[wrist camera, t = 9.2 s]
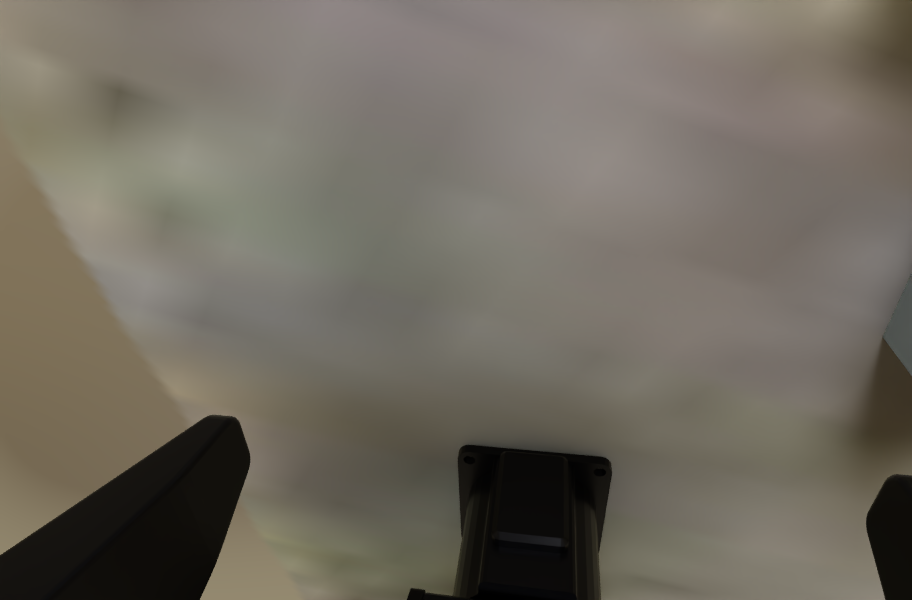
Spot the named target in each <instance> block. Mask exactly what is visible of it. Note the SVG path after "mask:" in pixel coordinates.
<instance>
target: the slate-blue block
mask: <svg viewBox="0 0 912 600" xmlns="http://www.w3.org/2000/svg"><path fill="white" fill-rule="evenodd" d="M883 338H884V339H885V341H886V342H887V343H888V345H889V346H890V347H891V349H892V350H893V352H894V353H895V354H896V356H897V357H898V358H899V360H900V361H901V362H902V364H903V365H904V366H905V368H906V369H907V370H908V372H909V373H910V374H911V376H912V273H911V276H910V278H909V280H908V282H907V284H906V287H905V289H904V291H903V293H902V295H901V298H900V300H899V302H898V304H897V306H896V309H895V311H894V313H893V315H892V317H891V320H890V322H889V324H888V326H887V328H886V331H885V333H884V335H883Z"/></svg>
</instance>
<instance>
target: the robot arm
mask: <svg viewBox="0 0 912 600" xmlns="http://www.w3.org/2000/svg"><path fill="white" fill-rule="evenodd" d="M468 456H471V457H468ZM249 466H250V452H249V449H248V446H247V443H246V440H245V437H244V434H243V431H242V428H241V425H240V422H239V421H238V420H237V419H236V418H235V417H233V416H222V415H209V416H207V417H205V418H203V419H202V420H200V421H199V422H197V423H196V424H194V425H193V426H191V427H190V428H188V429H187V430H185V431H184V432H183V433H181V434H180V435H178V436H177V437H175V438H174V439H172V440H171V441H169V442H168V443H166V444H165V445H163V446H162V447H160V448H159V449H157V450H156V451H154V452H153V453H152V454H150V455H148V456H147V457H145V458H144V459H142V460H141V461H139V462H138V463H137V464H135V465H133V466H132V467H131V468H129V469H128V470H126V471H125V472H123V473H122V474H120V475H119V476H117V477H116V478H114V479H113V480H111V481H110V482H108V483H107V484H105V485H104V486H102V487H101V488H99V489H98V490H96V491H95V492H93V493H92V494H90V495H89V496H87V497H86V498H84V499H83V500H81V501H80V502H79V503H77V504H76V505H74V506H73V507H71V508H70V509H68V510H67V511H65V512H64V513H62V514H61V515H59V516H58V517H56V518H55V519H53V520H52V521H50V522H49V523H47V524H46V525H44V526H43V527H41V528H40V529H38V530H37V531H36V532H34V533H32V534H31V535H30V536H28V537H27V538H25V539H24V540H22V541H21V542H19V543H18V544H16V545H15V546H13V547H12V548H10V549H9V550H7V551H6V552H4V553H3V554H1V555H0V600H200V598H201V596H202V593H203V591H204V589H205V587H206V585H207V582H208V580H209V578H210V576H211V573H212V571H213V569H214V567H215V564H216V562H217V559H218V557H219V554H220V551H221V548H222V545H223V543H224V540H225V537H226V534H227V531H228V528H229V525H230V522H231V520H232V517H233V514H234V511H235V508H236V505H237V502H238V499H239V496H240V493H241V491H242V488H243V485H244V482H245V479H246V476H247V473H248V470H249ZM597 468H602V469H597ZM458 472H459V493H460V514H461V535H462V543H461V549H460V555H459V561H458V568H457V574H456V580H455V587H454V593H453V596H449V595H441V594H433V593H426V592H425V590H422V589H414V588H411V589H410V592H409V595H408V598H407V600H601V591H600V573H599V555H598V553H599V548H600V542H601V536H602V530H603V524H604V518H605V512H606V506H607V500H608V494H609V488H610V482H611V476H612V468H611V462H610V461H609V460H608V459H606V458H604V457H597V456H586V455H575V454H564V453H553V452H542V451H530V450H519V449H508V448H497V447H486V446H475V445H465V446H463V447H462V448H461V449H460V451H459V456H458ZM866 528H867V533H868V537H869V541H870V545H871V548H872V552H873V556H874V559H875V563H876V567H877V570H878V574H879V578H880V581H881V585H882V589H883V592H884V596H885V600H912V476H910V475H899V474H896V475H892V476H890V477H888V478H887V479H886V481H885V482H884V484H883V486H882V488H881V490H880V491H879V493H878V495H877V497H876V499H875V500H874V502H873V504H872V506H871V508H870V510H869V511H868V514H867V519H866Z"/></svg>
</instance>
